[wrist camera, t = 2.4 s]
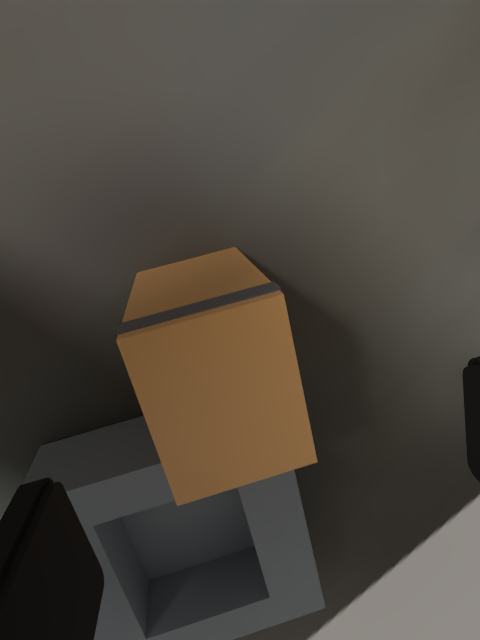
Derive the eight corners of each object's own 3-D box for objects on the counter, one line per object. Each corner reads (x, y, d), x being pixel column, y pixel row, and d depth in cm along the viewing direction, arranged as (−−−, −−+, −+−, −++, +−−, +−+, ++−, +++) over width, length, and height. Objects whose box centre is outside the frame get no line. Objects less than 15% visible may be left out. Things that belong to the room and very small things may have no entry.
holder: (40, 445, 20) (10, 508, 16) (262, 380, 20) (284, 425, 17) (116, 602, 23) (106, 683, 20) (301, 542, 24) (325, 608, 21)
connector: (135, 271, 18) (113, 339, 10) (236, 245, 18) (285, 291, 11) (172, 383, 20) (176, 507, 12) (262, 357, 20) (319, 463, 13)
